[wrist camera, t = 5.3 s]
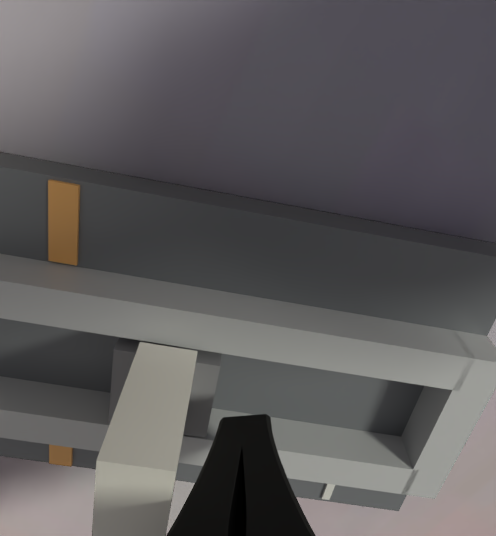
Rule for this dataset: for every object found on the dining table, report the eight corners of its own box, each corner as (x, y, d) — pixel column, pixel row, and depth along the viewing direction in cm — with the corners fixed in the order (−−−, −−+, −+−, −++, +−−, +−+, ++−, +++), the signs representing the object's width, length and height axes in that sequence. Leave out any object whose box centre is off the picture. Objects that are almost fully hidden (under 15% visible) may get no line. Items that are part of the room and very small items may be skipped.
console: (504, 245, 15) (551, 285, 12) (390, 484, 19) (409, 546, 17) (-100, 133, 13) (-175, 155, 11) (-59, 420, 18) (-105, 477, 16)
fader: (225, 325, 14) (210, 476, 10) (208, 412, 16) (187, 580, 11) (127, 309, 14) (61, 455, 9) (120, 398, 16) (59, 564, 11)
